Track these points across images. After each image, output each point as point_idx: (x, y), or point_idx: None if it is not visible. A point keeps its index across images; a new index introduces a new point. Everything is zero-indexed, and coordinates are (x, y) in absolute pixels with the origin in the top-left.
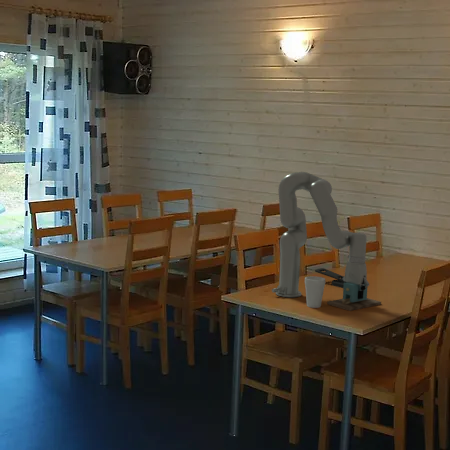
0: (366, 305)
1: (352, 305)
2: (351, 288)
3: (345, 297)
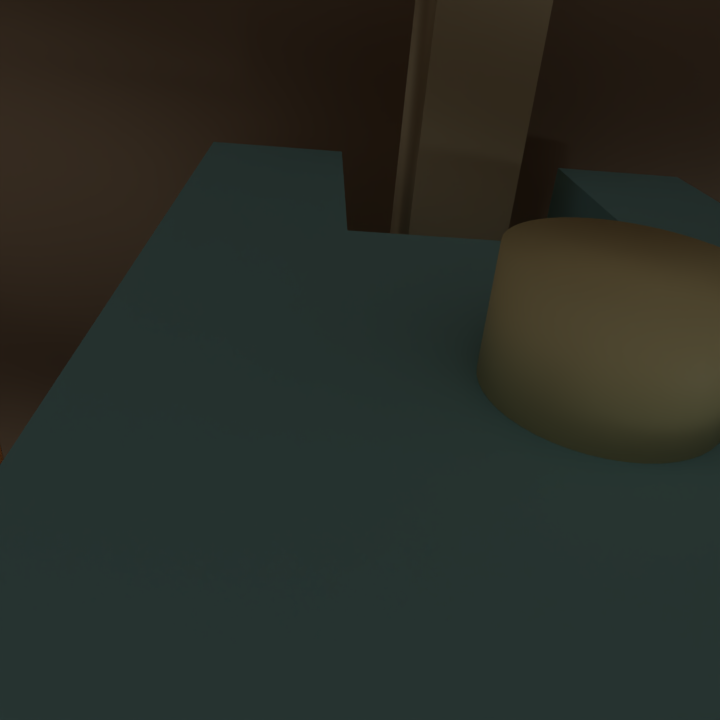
0: (4, 416)
1: (131, 14)
2: (262, 466)
3: (592, 196)
